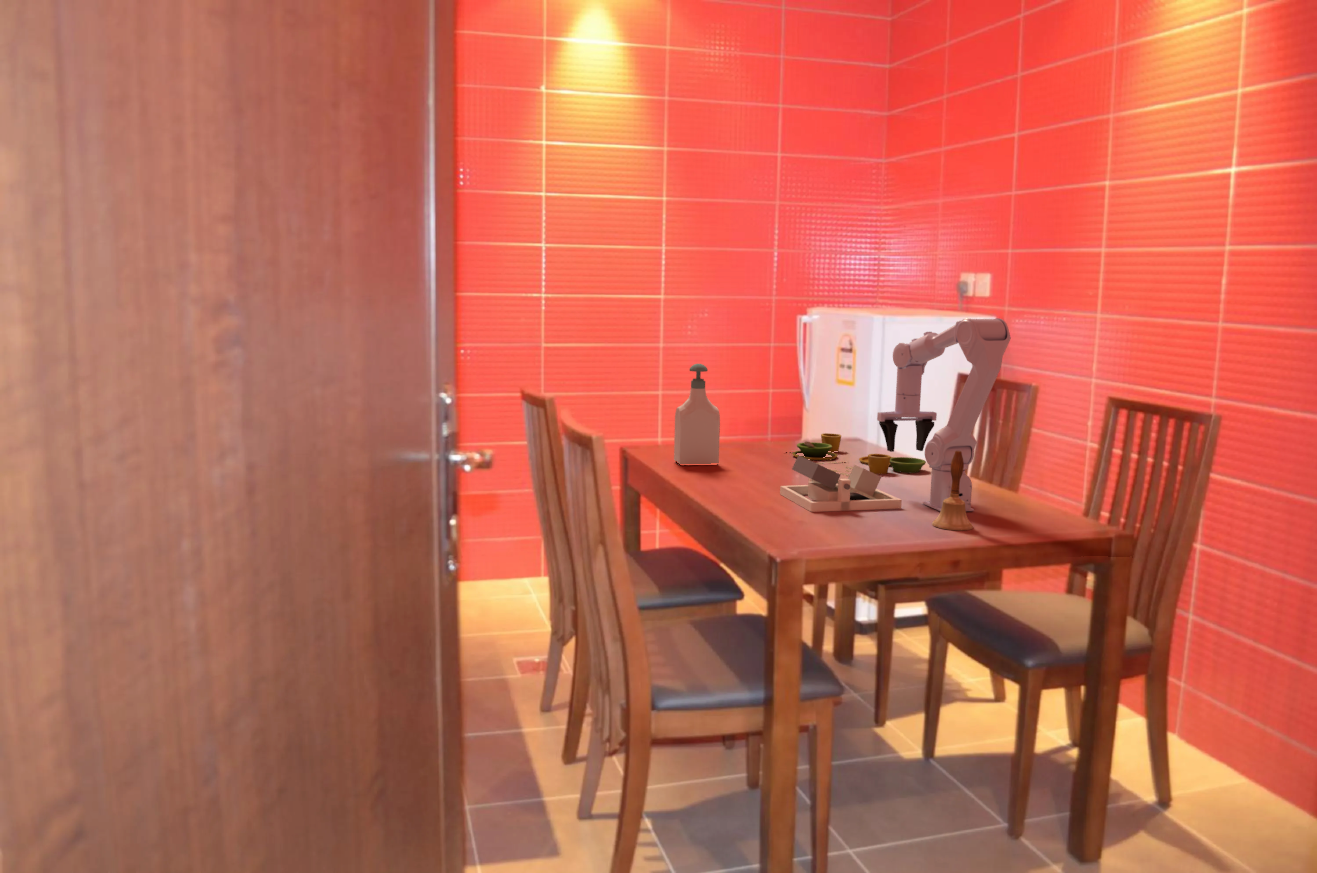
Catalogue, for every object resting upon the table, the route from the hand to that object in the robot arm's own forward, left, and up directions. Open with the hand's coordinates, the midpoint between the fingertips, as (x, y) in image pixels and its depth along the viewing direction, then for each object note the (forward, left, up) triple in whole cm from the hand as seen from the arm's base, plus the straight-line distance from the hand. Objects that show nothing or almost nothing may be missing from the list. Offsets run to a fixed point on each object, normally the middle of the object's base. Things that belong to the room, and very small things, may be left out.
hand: (905, 450), depth 252 cm
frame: (-6, +18, -10) cm, 22 cm away
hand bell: (-33, +5, -11) cm, 35 cm away
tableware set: (+43, -7, -11) cm, 45 cm away
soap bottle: (+47, +38, -11) cm, 62 cm away
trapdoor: (-6, +20, -8) cm, 22 cm away
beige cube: (-6, +14, -8) cm, 18 cm away
